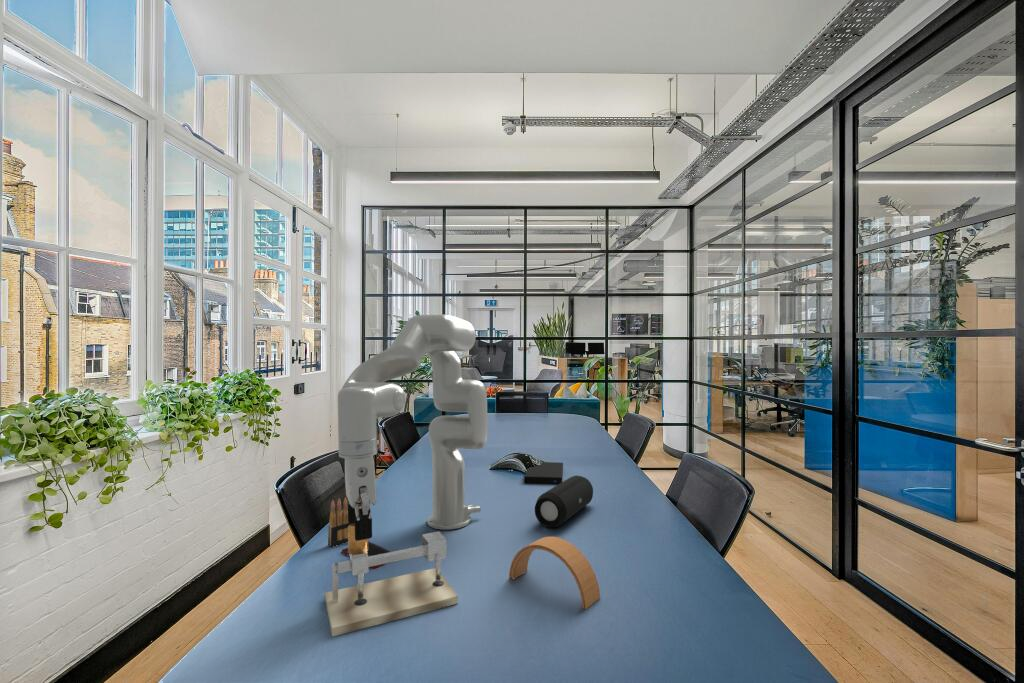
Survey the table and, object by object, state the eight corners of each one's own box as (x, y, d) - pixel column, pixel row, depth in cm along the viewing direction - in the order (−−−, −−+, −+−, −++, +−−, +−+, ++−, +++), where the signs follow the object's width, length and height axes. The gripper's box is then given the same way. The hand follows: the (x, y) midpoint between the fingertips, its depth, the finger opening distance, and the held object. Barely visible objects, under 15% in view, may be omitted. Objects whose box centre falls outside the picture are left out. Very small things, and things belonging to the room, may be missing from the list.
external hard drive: (563, 469, 202) (563, 462, 202) (561, 485, 179) (561, 477, 179) (529, 468, 204) (529, 461, 204) (524, 484, 181) (524, 476, 181)
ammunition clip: (331, 547, 124) (330, 501, 124) (327, 545, 126) (327, 500, 126) (368, 535, 132) (368, 492, 132) (365, 534, 133) (365, 491, 133)
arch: (525, 569, 111) (524, 526, 111) (600, 598, 98) (599, 550, 98) (508, 579, 107) (508, 534, 107) (585, 610, 94) (584, 559, 94)
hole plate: (436, 574, 109) (436, 567, 109) (457, 603, 97) (457, 595, 97) (325, 599, 98) (325, 592, 98) (332, 636, 86) (332, 627, 86)
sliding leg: (367, 586, 100) (366, 521, 100) (371, 598, 95) (371, 529, 95) (347, 591, 98) (346, 524, 98) (350, 603, 93) (350, 533, 93)
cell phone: (372, 571, 112) (372, 567, 112) (340, 553, 121) (340, 550, 121) (400, 559, 118) (400, 555, 118) (367, 544, 127) (367, 540, 127)
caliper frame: (439, 571, 107) (439, 531, 107) (448, 582, 102) (447, 540, 102) (331, 595, 97) (330, 551, 97) (334, 610, 92) (334, 563, 92)
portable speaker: (563, 533, 133) (562, 497, 133) (531, 526, 138) (531, 492, 138) (595, 506, 155) (595, 475, 155) (567, 501, 160) (567, 471, 160)
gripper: (385, 454, 91) (386, 542, 92) (369, 437, 107) (370, 513, 107) (344, 459, 88) (346, 550, 88) (334, 441, 104) (335, 519, 104)
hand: (359, 530), depth 98 cm, fingers open, 9 cm apart
